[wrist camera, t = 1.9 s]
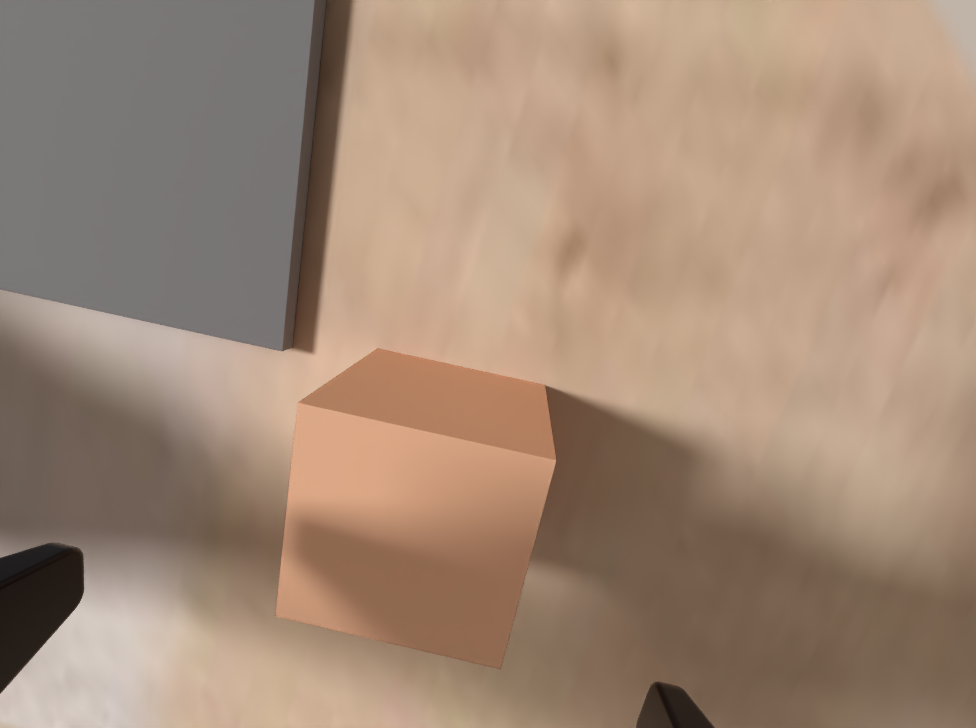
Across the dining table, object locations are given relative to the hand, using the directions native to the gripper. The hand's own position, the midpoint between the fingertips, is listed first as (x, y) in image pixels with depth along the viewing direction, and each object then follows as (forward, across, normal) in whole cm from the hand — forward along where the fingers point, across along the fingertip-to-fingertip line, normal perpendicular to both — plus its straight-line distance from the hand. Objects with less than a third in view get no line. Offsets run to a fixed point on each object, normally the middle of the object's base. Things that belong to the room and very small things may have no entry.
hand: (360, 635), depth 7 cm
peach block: (+7, 0, 0) cm, 7 cm away
